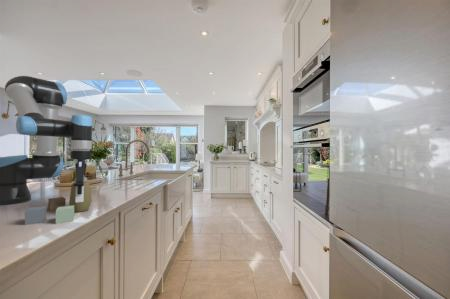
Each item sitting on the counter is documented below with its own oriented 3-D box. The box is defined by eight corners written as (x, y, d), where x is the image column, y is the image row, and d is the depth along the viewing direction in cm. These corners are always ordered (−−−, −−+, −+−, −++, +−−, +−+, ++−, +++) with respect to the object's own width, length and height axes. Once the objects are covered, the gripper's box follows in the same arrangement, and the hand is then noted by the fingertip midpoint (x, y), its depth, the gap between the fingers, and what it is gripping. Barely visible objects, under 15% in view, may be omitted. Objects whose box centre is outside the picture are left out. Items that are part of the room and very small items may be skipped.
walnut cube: (48, 210, 92) (48, 198, 92) (62, 207, 96) (62, 196, 96) (51, 212, 89) (51, 200, 89) (65, 209, 92) (65, 198, 93)
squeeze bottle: (68, 214, 85) (69, 170, 85) (69, 209, 92) (69, 169, 92) (91, 211, 90) (92, 169, 90) (90, 207, 97) (91, 168, 97)
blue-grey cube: (28, 221, 77) (28, 207, 77) (46, 218, 80) (46, 205, 80) (24, 225, 73) (25, 211, 73) (43, 222, 76) (43, 209, 76)
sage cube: (57, 220, 79) (58, 207, 79) (74, 218, 81) (74, 205, 81) (55, 224, 74) (55, 210, 74) (72, 221, 77) (73, 208, 77)
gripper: (73, 150, 100) (72, 194, 100) (67, 150, 79) (66, 206, 78) (92, 150, 104) (91, 192, 104) (91, 150, 83) (90, 203, 82)
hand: (80, 198), depth 91 cm, fingers open, 13 cm apart
